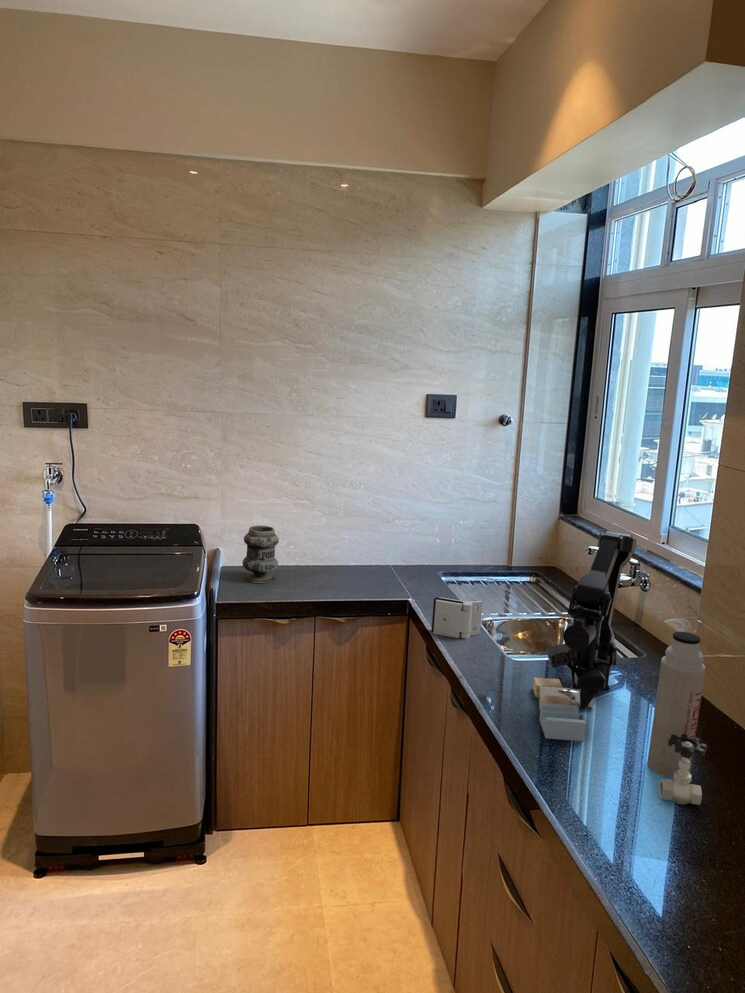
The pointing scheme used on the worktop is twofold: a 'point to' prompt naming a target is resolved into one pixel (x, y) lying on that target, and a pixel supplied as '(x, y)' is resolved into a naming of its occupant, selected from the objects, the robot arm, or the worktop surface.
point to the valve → (683, 772)
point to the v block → (562, 722)
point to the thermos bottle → (676, 701)
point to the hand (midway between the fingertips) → (579, 700)
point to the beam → (547, 698)
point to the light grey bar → (564, 694)
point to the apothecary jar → (260, 553)
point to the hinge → (456, 617)
